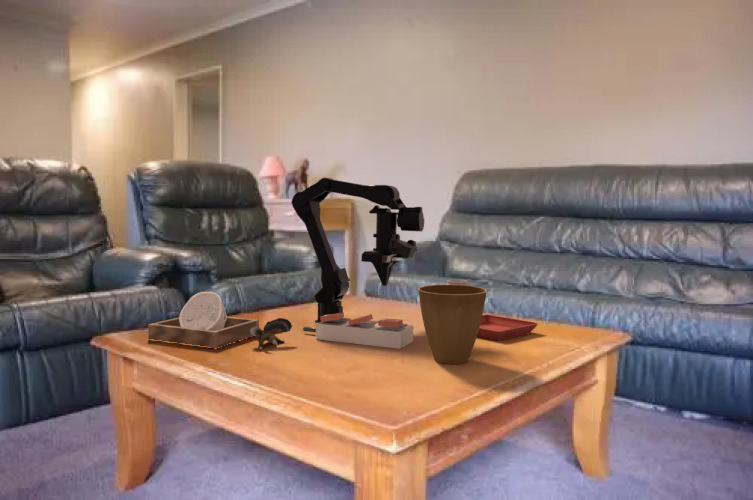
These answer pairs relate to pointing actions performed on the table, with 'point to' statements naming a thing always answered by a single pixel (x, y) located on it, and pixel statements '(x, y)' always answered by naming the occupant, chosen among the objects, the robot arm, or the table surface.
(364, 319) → the rocker
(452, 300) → the plant pot
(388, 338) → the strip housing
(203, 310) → the grey flat disc
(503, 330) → the plant saucer
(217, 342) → the wooden tray
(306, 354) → the table surface
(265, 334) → the eagle figurine
